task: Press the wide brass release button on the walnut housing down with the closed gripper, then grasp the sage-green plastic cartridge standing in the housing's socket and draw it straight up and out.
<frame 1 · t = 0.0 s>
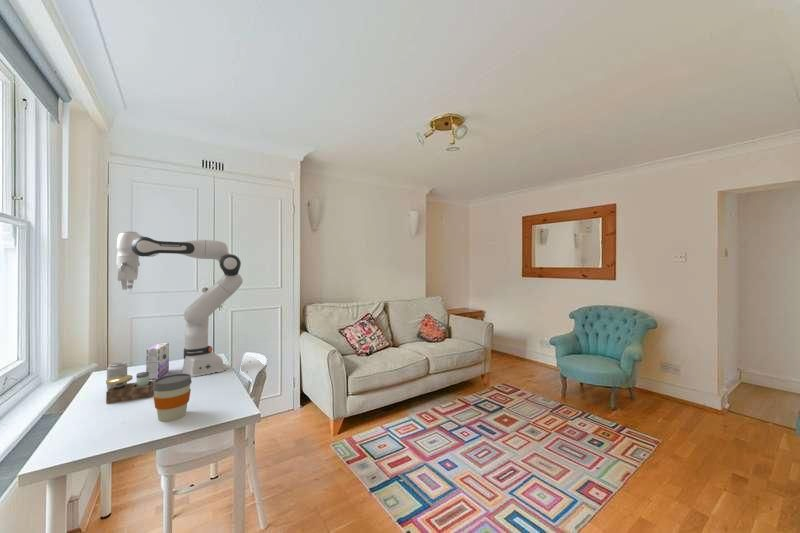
hand: (127, 289, 165), 48 cm above the table, fingers open, 8 cm apart
candy box: (157, 375, 173), on the table
reusable coffee cup: (172, 416, 125), on the table
cartridge: (142, 395, 146), resting in housing
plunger: (119, 385, 142), point 6 cm above the table, slide at 0.0 cm
can: (117, 388, 155), on the table
housing: (132, 396, 144), on the table
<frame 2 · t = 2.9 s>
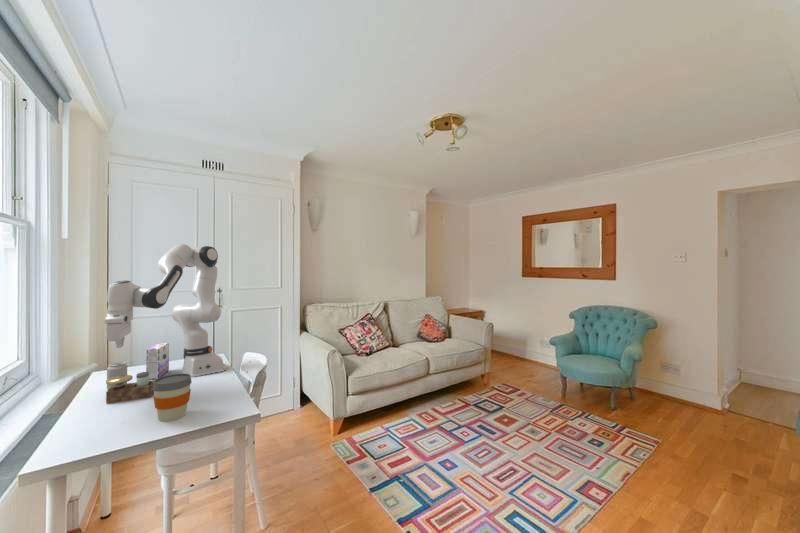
hand: (120, 347, 142), 23 cm above the table, fingers closed
nothing on the table moved.
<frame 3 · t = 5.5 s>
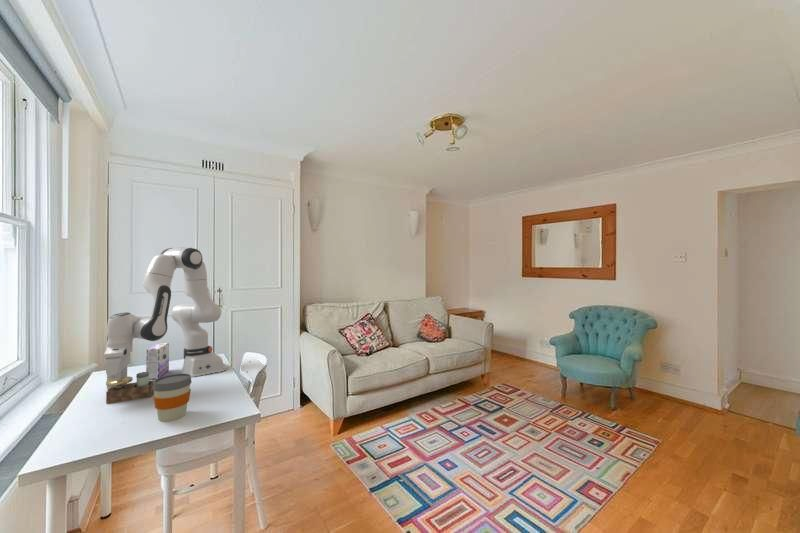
hand: (119, 380, 142), 8 cm above the table, fingers closed, pressing on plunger
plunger: (119, 386, 142), point 5 cm above the table, slide at 0.7 cm, touching gripper
everything else where it was.
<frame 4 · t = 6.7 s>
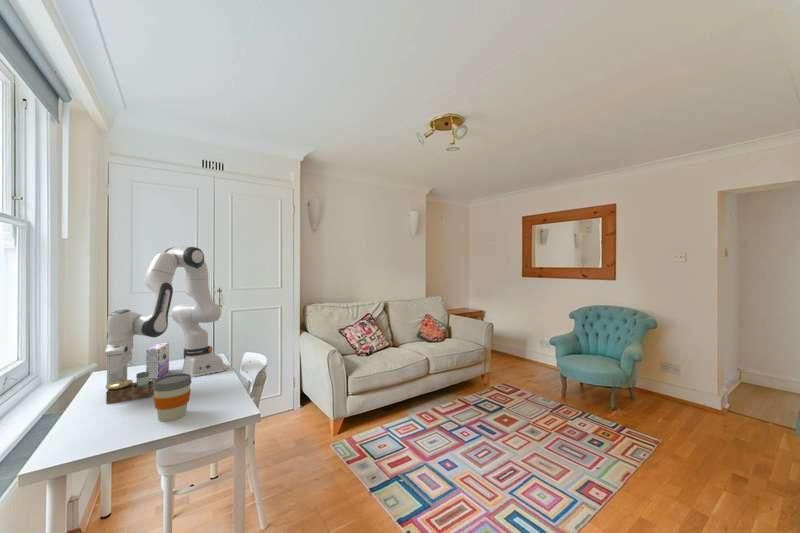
hand: (121, 376, 143), 10 cm above the table, fingers closed
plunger: (119, 389, 142), point 4 cm above the table, slide at 2.1 cm
everything else where it was.
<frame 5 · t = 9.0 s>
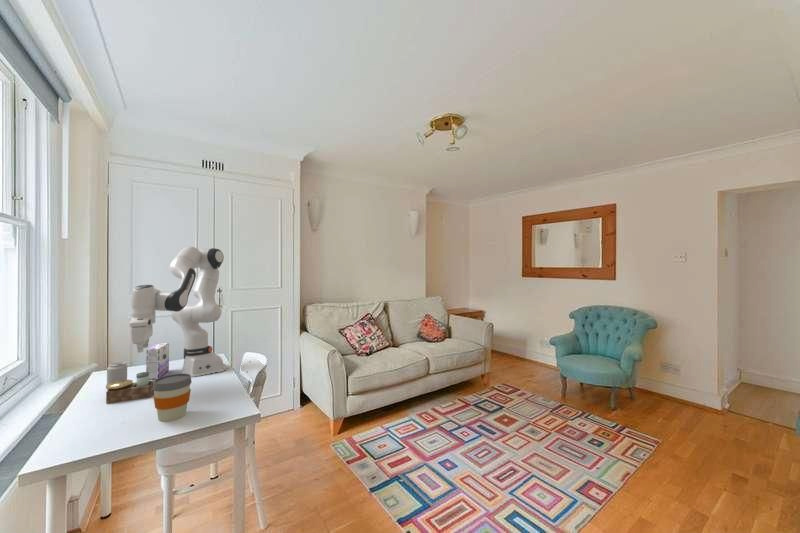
hand: (143, 349, 146), 21 cm above the table, fingers open, 8 cm apart
nothing on the table moved.
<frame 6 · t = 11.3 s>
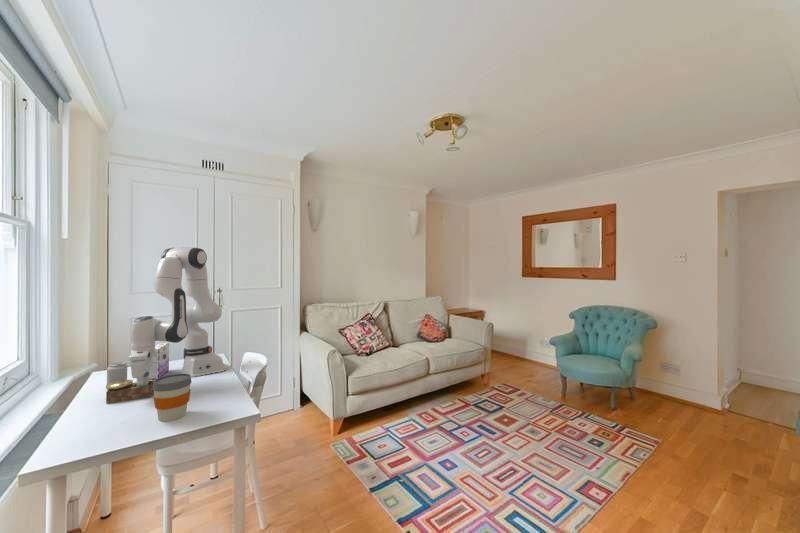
hand: (142, 381, 146), 6 cm above the table, fingers closed on cartridge, 4 cm apart
cartridge: (142, 395, 146), resting in housing, touching gripper
everything else where it was.
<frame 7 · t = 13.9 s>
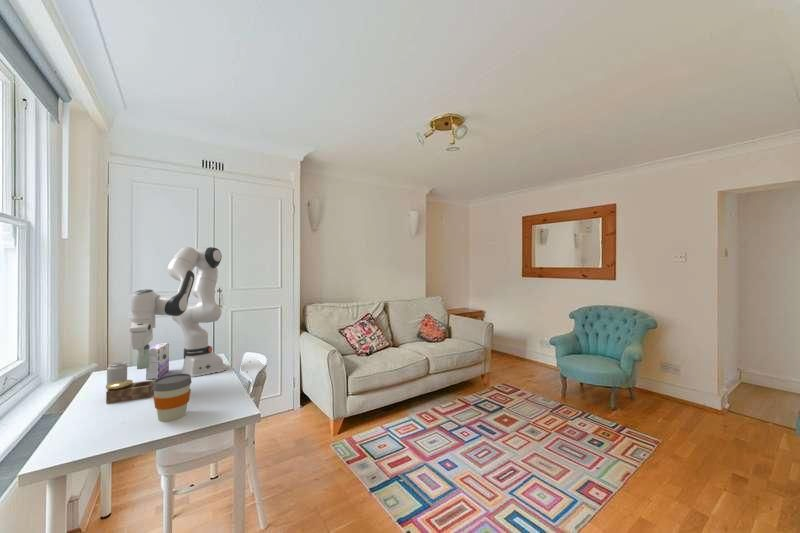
hand: (143, 354, 146), 19 cm above the table, fingers closed on cartridge, 4 cm apart
cartridge: (143, 367, 146), point 13 cm above the table, touching gripper
everything else where it was.
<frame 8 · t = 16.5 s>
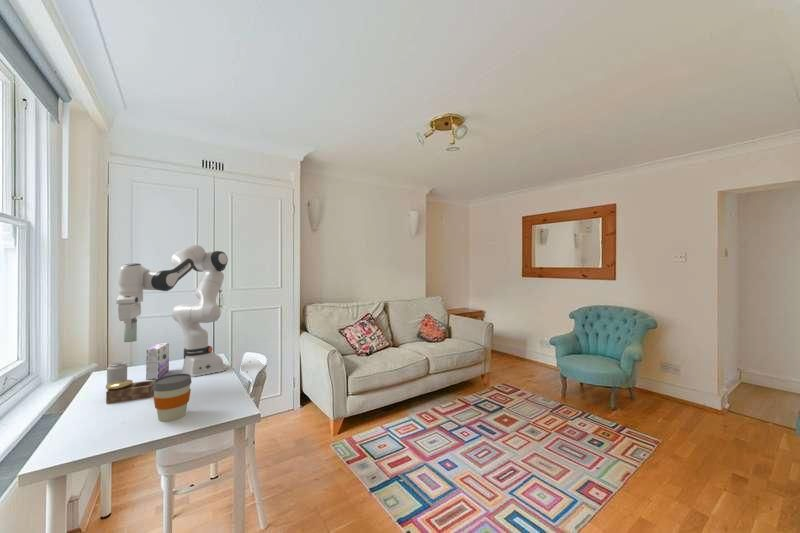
hand: (130, 327, 147), 31 cm above the table, fingers closed on cartridge, 4 cm apart
cartridge: (130, 341, 146), point 25 cm above the table, touching gripper
everything else where it was.
at the end: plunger slide at 2.1 cm; cartridge point 24.9 cm above the table; the gripper is holding cartridge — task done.
